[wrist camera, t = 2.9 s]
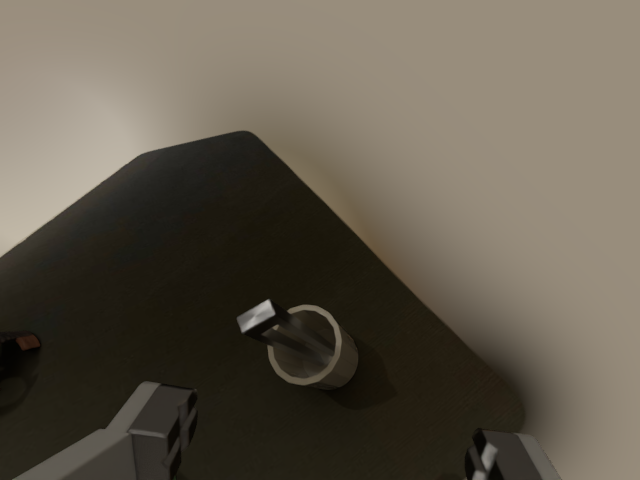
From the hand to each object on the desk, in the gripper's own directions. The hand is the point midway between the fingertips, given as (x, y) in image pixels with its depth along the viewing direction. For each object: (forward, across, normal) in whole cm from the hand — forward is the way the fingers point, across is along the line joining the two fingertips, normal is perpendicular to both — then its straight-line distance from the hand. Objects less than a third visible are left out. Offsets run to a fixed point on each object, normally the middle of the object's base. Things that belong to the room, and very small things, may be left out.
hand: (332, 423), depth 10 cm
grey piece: (+22, -1, +16) cm, 27 cm away
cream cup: (+22, -1, +16) cm, 27 cm away
